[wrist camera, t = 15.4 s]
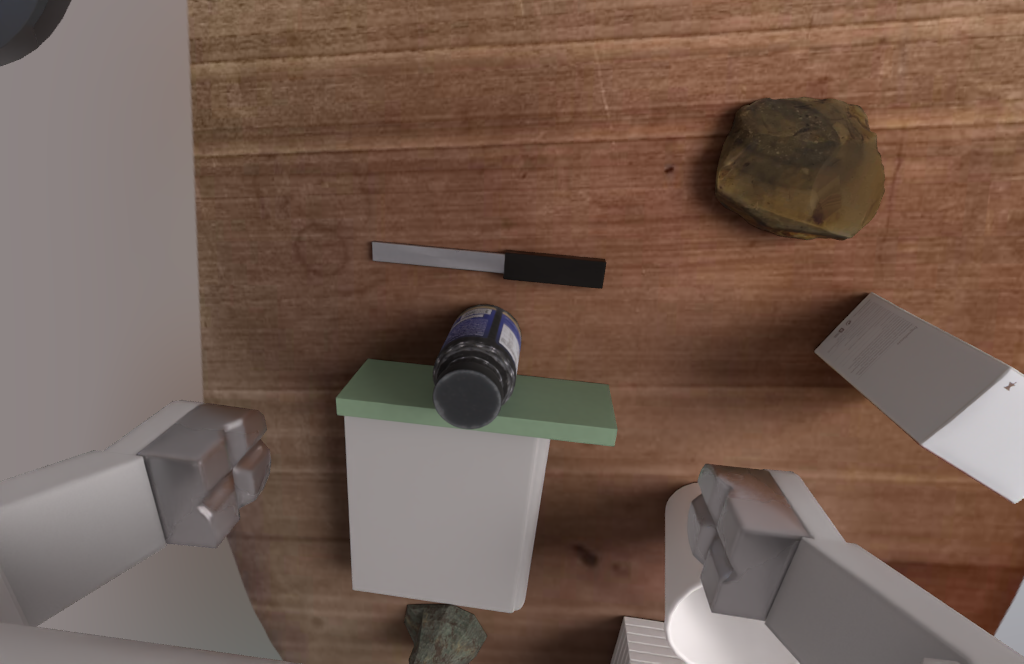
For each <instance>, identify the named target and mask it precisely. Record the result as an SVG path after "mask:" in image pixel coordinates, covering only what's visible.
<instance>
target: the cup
mask: <svg viewBox="0 0 1024 664" xmlns="http://www.w3.org/2000/svg"><path fill="white" fill-rule="evenodd" d="M701 493H702V492H701V489H700V487H699V484H698V483H692V484H689V485H686V486H683V487H682V488H680V489H678V490H677V491H675V492H674V494H673V495H672V496H671V497H670V498H669V500H668V502H667V504H666V509H665V622H664V630H665V636H666V640H667V642H668V644H669V645H670V647H671V649H672V650H673V652H674V653H675V654H676V655H677V656H678V657H679V658H680V659H681V660H683V661H684V662H685V663H686V664H800V663H799V662H798V661H797V660H796V659H795V657H794V656H793V655H792V654H791V653H790V652H789V651H788V650H787V648H786V647H785V646H784V645H783V644H782V643H781V642H780V641H779V640H778V638H777V637H776V636H775V635H774V634H773V633H772V632H771V631H770V629H769V628H768V627H767V626H766V625H765V624H764V623H765V621H761V620H755V619H748V618H742V617H736V616H729V615H723V614H717V613H712V612H711V609H710V606H709V603H708V600H707V597H706V594H705V591H704V588H703V585H702V582H701V579H700V575H701V572H702V569H703V566H704V565H702V564H701V563H700V562H699V561H698V560H697V559H696V558H695V557H694V556H693V554H692V551H691V548H690V545H689V540H688V533H687V524H688V513H689V509H690V505H691V501H692V500H694V499H695V498H696V497H697V496H699V495H700V494H701Z"/></svg>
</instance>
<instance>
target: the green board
mask: <svg viewBox="0 0 1024 664" xmlns="http://www.w3.org/2000/svg"><path fill="white" fill-rule="evenodd" d="M433 368H434V366H430V365H421V364H412V363H402V362H393V361H384V360H374V359H367V360H366V362H365V363H364V364H363V365H362V366H361V368H360V369H359V370H358V371H357V373H356V374H355V375H354V376H353V377H352V379H351V380H350V381H349V382H348V384H347V385H346V386H345V387H344V388H343V390H342V391H341V392H340V393H339V395H338V396H337V397H336V408H337V415H341V416H350V417H359V418H368V419H377V420H385V421H394V422H403V423H412V424H421V425H429V426H438V427H447V428H456V429H462V428H457V427H455V426H453V425H451V424H449V423H448V422H446V421H445V420H444V419H442V417H441V416H440V415H439V414H438V412H437V411H436V409H435V406H434V403H433V390H434V387H435V385H434V382H433ZM465 430H473V431H482V432H491V433H500V434H509V435H517V436H526V437H535V438H544V439H553V440H561V441H570V442H579V443H588V444H597V445H605V446H614V445H615V440H616V434H617V425H616V420H615V415H614V410H613V405H612V400H611V395H610V390H609V385H607V384H598V383H589V382H579V381H570V380H561V379H551V378H542V377H533V376H523V375H516V383H515V387H514V390H513V393H512V395H511V396H510V398H509V399H508V400H507V402H506V403H505V404H504V405H502V406H501V410H500V412H499V414H498V415H497V417H496V418H495V419H494V420H493V421H492V422H491V423H490V424H488V425H486V426H484V427H482V428H477V429H465Z"/></svg>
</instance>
